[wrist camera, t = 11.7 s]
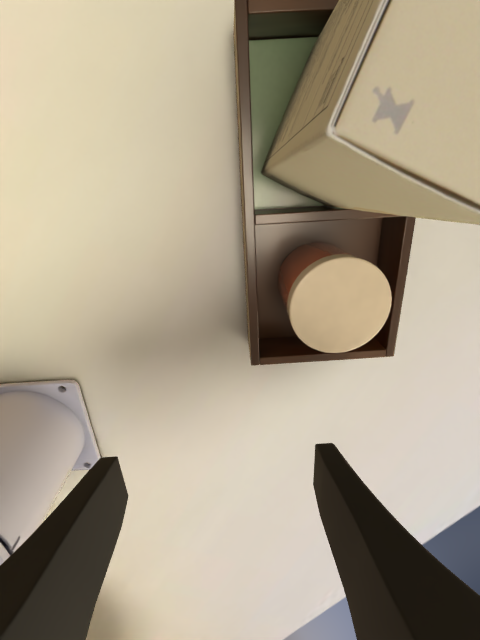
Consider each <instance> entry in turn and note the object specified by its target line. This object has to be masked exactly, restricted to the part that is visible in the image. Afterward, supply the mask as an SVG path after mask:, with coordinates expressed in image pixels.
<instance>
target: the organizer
mask: <svg viewBox="0 0 480 640" xmlns="http://www.w3.org/2000/svg"><path fill="white" fill-rule="evenodd" d="M338 1H339V0H235V3H234V31H233V35H234V56H235V77H236V98H237V119H238V140H239V161H240V181H241V202H242V223H243V244H244V265H245V286H246V306H247V327H248V344H249V352H250V360H251V365H259V364H260V365H266V364H282V363H298V362H313V361H329V360H344V359H360V358H376V357H391V356H394V351H395V344H396V338H397V332H398V326H399V319H400V313H401V307H402V300H403V294H404V288H405V281H406V275H407V269H408V263H409V256H410V250H411V244H412V237H413V231H414V225H415V218H416V217H408V216H399V215H392V214H383V213H375V212H367V211H361V210H353V209H344V208H338V207H329V206H326V205H324V204H322V203H319V202H317V201H315V200H313V199H310V198H308V197H306V196H304V195H302V194H300V193H298V192H296V191H294V190H292V189H289V188H287V187H285V186H283V185H281V184H279V183H278V182H276V181H274V180H272V179H270V178H268V177H266V176H264V175H262V173H261V172H262V168H263V165H264V163H265V160H266V158H267V155H268V153H269V150H270V147H271V145H272V142H273V140H274V138H275V135H276V133H277V130H278V128H279V125H280V123H281V120H282V118H283V116H284V113H285V111H286V108H287V106H288V104H289V101H290V99H291V97H292V94H293V92H294V90H295V87H296V85H297V83H298V80H299V78H300V76H301V73H302V71H303V69H304V67H305V64H306V62H307V60H308V58H309V55H310V53H311V51H312V49H313V46H314V44H315V42H316V41H317V39H318V37H319V35H320V34H321V32H322V30H323V28H324V26H325V25H326V23H327V21H328V19H329V17H330V16H331V14H332V12H333V10H334V8H335V7H336V5H337V3H338ZM311 242H327V243H331V244H333V245H335V246H337V247H339V248H341V249H343V250H344V251H346V252H348V253H350V254H352V255H355V256H358V257H361V258H363V259H365V260H367V261H369V262H371V263H372V264H374V265H375V266H376V267H378V268H379V269H380V270H381V271H382V273H383V274H384V275H385V277H386V279H387V280H388V283H389V285H390V289H391V297H392V300H391V308H390V312H389V315H388V318H387V320H386V322H385V324H384V325H383V327H382V328H381V330H380V331H379V332H378V333H377V334H376V335H375V336H374V337H373V338H372V339H371V340H369V341H368V342H367V343H365V344H364V345H362V346H360V347H358V348H356V349H353V350H350V351H346V352H341V353H327V352H322V351H318V350H315V349H313V348H311V347H309V346H307V345H306V344H305V343H303V342H302V341H301V340H300V339H299V337H298V336H297V335H296V333H295V332H294V330H293V328H292V326H291V323H290V321H289V318H288V313H287V310H286V308H285V306H284V304H283V301H282V299H281V297H280V295H279V292H278V287H277V278H278V273H279V270H280V267H281V265H282V263H283V262H284V260H285V259H286V258H287V256H288V255H289V254H290V253H291V252H292V251H294V250H295V249H297V248H298V247H300V246H302V245H305V244H307V243H311Z"/></svg>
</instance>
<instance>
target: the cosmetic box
mask: <svg viewBox="0 0 480 640" xmlns="http://www.w3.org/2000/svg"><path fill="white" fill-rule="evenodd" d="M261 173H262V175H264V176H266V177H268V178H270V179H272V180H274V181H276V182H278V183H279V184H281V185H283V186H285V187H287V188H289V189H292V190H294V191H296V192H298V193H300V194H302V195H304V196H306V197H308V198H310V199H313V200H315V201H317V202H319V203H322V204H324V205H326V206H329V207H338V208H344V209H353V210H361V211H367V212H375V213H383V214H392V215H399V216H408V217H416V218H425V219H434V220H442V221H451V222H460V223H470V224H479V225H480V0H339V1H338V3H337V5H336V7H335V8H334V10H333V12H332V14H331V16H330V17H329V19H328V21H327V23H326V25H325V26H324V28H323V30H322V32H321V34H320V35H319V37H318V39H317V41H316V42H315V44H314V46H313V49H312V51H311V53H310V55H309V58H308V60H307V62H306V64H305V67H304V69H303V71H302V73H301V76H300V78H299V80H298V83H297V85H296V87H295V90H294V92H293V94H292V97H291V99H290V101H289V104H288V106H287V108H286V111H285V113H284V116H283V118H282V120H281V123H280V125H279V128H278V130H277V133H276V135H275V138H274V140H273V142H272V145H271V147H270V150H269V153H268V155H267V158H266V160H265V163H264V165H263V168H262V172H261Z"/></svg>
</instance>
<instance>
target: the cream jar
mask: <svg viewBox="0 0 480 640" xmlns="http://www.w3.org/2000/svg"><path fill="white" fill-rule="evenodd" d="M277 287H278V292H279V295H280V297H281V299H282V301H283V304H284V306H285V308H286V310H287V313H288V318H289V321H290V323H291V326H292V328H293V330H294V332H295V333H296V335H297V336H298V337H299V339H300V340H301V341H302V342H303V343H305V344H306V345H307V346H309V347H311V348H313V349H315V350H318V351H322V352H327V353H341V352H346V351H350V350H353V349H356V348H358V347H360V346H362V345H364V344H365V343H367V342H368V341H369V340H371V339H372V338H373V337H374V336H375V335H376V334H377V333H378V332H379V331H380V330H381V328H382V327H383V325H384V324H385V322H386V320H387V318H388V315H389V312H390V308H391V300H392V297H391V289H390V285H389V283H388V280H387V279H386V277H385V275H384V274H383V273H382V271H381V270H380V269H379V268H378V267H376V266H375V265H374V264H372V263H371V262H369V261H367V260H365V259H363V258H361V257H358V256H355V255H352V254H350V253H348V252H346V251H344V250H343V249H341V248H339V247H337V246H335V245H333V244H331V243H327V242H311V243H307V244H305V245H302V246H300V247H298V248H297V249H295V250H294V251H292V252H291V253H290V254H289V255H288V256H287V258H286V259H285V260H284V262H283V263H282V265H281V267H280V270H279V273H278V278H277Z"/></svg>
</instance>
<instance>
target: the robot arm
mask: <svg viewBox="0 0 480 640" xmlns="http://www.w3.org/2000/svg"><path fill="white" fill-rule="evenodd" d="M61 386H64V387H65V388H66V389H63V388H62V387H61ZM88 469H90V470H89V471H88V472H87V474H86V475H85V476H84V477H83V478H82V479H81V481H80V482H79V483H78V484H77V485H76V486H75V488H74V489H73V490H72V491H71V492H70V493H69V494H68V496H67V497H66V498H65V499H64V500H63V501H62V502H61V503H60V505H59V506H58V507H57V508H56V509H55V510H54V511H53V512H52V513H51V515H50V516H49V517H48V518H47V519H46V520H45V521H44V519H45V517H46V515H47V513H48V511H49V510H50V508H51V506H52V504H53V502H54V501H55V499H56V497H57V495H58V493H59V491H60V490H61V488H62V486H63V484H64V482H65V481H66V479H67V477H68V475H69V473H70V471H73V470H88ZM313 485H314V490H315V495H316V499H317V504H318V508H319V513H320V516H321V520H322V523H323V526H324V529H325V532H326V535H327V538H328V541H329V544H330V547H331V551H332V554H333V557H334V560H335V563H336V566H337V569H338V572H339V575H340V578H341V581H342V584H343V587H344V591H345V594H346V598H347V601H348V605H349V609H350V613H351V617H352V621H353V625H354V629H355V633H356V637H357V640H480V595H478V594H477V593H476V592H475V591H474V590H472V589H471V588H470V587H469V586H468V585H466V584H465V583H464V582H463V581H462V580H460V579H459V578H458V577H457V576H455V575H454V574H453V573H452V572H451V571H450V570H449V569H447V568H446V567H445V566H444V565H443V564H442V563H441V562H439V561H438V560H437V559H436V558H435V557H434V556H433V555H432V554H431V553H430V552H429V551H428V550H426V549H425V548H424V547H423V546H422V545H421V544H420V543H419V542H418V541H417V540H416V539H415V538H414V537H413V536H412V535H411V534H410V533H409V532H408V531H407V530H406V529H405V528H404V527H403V526H402V525H401V524H400V523H399V522H398V521H397V520H396V519H395V518H394V517H393V516H392V514H391V513H390V512H389V511H388V510H387V509H386V508H385V507H384V506H383V505H382V504H381V502H380V501H379V500H378V499H377V498H376V497H375V496H374V494H373V493H372V492H371V491H370V490H369V488H368V487H367V486H366V485H365V484H364V483H363V481H362V480H361V479H360V478H359V476H358V475H357V474H356V473H355V471H354V470H353V469H352V468H351V466H350V465H349V464H348V462H347V461H346V460H345V458H344V457H343V456H342V454H341V453H340V452H339V450H338V449H337V447H336V446H335V445H334V444H333V443H326V444H316V445H315V464H314V482H313ZM127 500H128V493H127V490H126V486H125V482H124V479H123V475H122V472H121V468H120V464H119V461H118V457H103V458H101V456H100V453H99V450H98V446H97V443H96V440H95V436H94V433H93V430H92V427H91V423H90V420H89V417H88V413H87V410H86V407H85V403H84V400H83V397H82V394H81V390H80V387H79V384H78V383H77V382H76V381H74V380H55V381H39V382H24V383H8V384H0V640H86V636H87V632H88V628H89V624H90V620H91V617H92V614H93V611H94V607H95V604H96V601H97V598H98V595H99V592H100V589H101V586H102V583H103V580H104V578H105V575H106V572H107V569H108V566H109V563H110V560H111V557H112V554H113V551H114V548H115V545H116V542H117V539H118V536H119V533H120V530H121V527H122V523H123V518H124V514H125V509H126V505H127ZM43 521H44V522H43ZM42 522H43V523H42Z"/></svg>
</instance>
